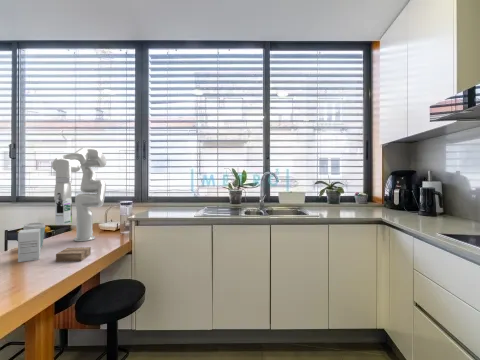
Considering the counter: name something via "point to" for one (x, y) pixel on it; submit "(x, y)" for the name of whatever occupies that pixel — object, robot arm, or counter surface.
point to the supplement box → (28, 245)
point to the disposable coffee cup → (36, 226)
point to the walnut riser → (73, 254)
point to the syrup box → (64, 213)
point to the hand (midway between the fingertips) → (63, 211)
